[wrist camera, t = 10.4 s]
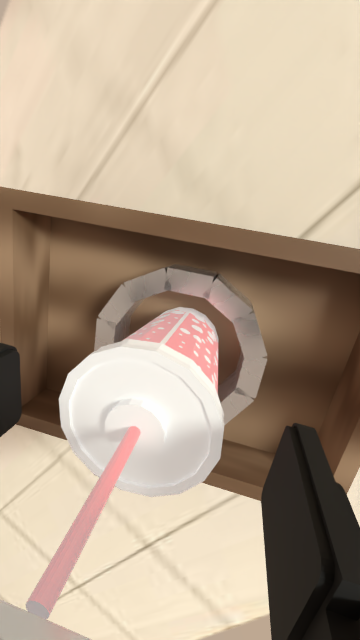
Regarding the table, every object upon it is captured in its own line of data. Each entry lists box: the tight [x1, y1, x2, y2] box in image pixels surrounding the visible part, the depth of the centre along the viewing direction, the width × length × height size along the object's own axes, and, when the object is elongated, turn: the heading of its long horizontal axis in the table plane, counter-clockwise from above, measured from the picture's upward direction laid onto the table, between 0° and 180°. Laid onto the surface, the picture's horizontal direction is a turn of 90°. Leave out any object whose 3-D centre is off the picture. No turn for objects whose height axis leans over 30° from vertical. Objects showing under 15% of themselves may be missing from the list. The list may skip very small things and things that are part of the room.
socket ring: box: [94, 264, 267, 426], centre depth 17 cm, size 10×10×2 cm
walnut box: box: [0, 187, 360, 501], centre depth 17 cm, size 15×22×4 cm
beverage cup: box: [26, 307, 224, 619], centre depth 11 cm, size 6×6×14 cm
